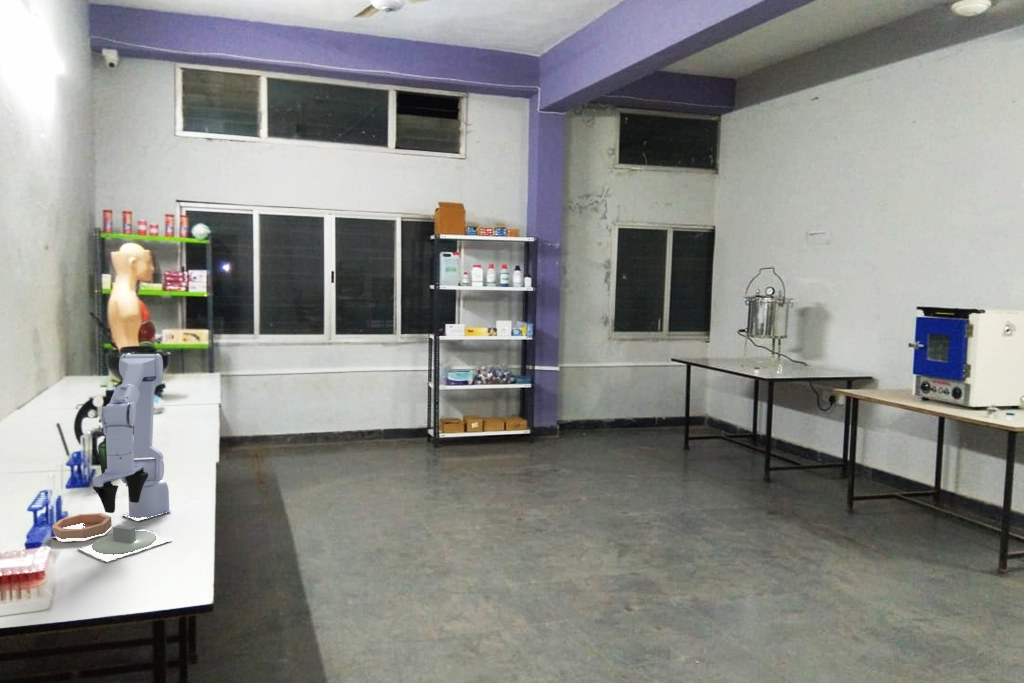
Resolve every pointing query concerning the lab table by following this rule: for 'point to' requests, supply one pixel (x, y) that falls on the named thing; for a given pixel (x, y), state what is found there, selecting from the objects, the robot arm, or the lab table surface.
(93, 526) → the bowl
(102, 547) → the lid
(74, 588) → the lab table surface
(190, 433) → the lab table surface
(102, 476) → the robot arm
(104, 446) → the potion bottle
